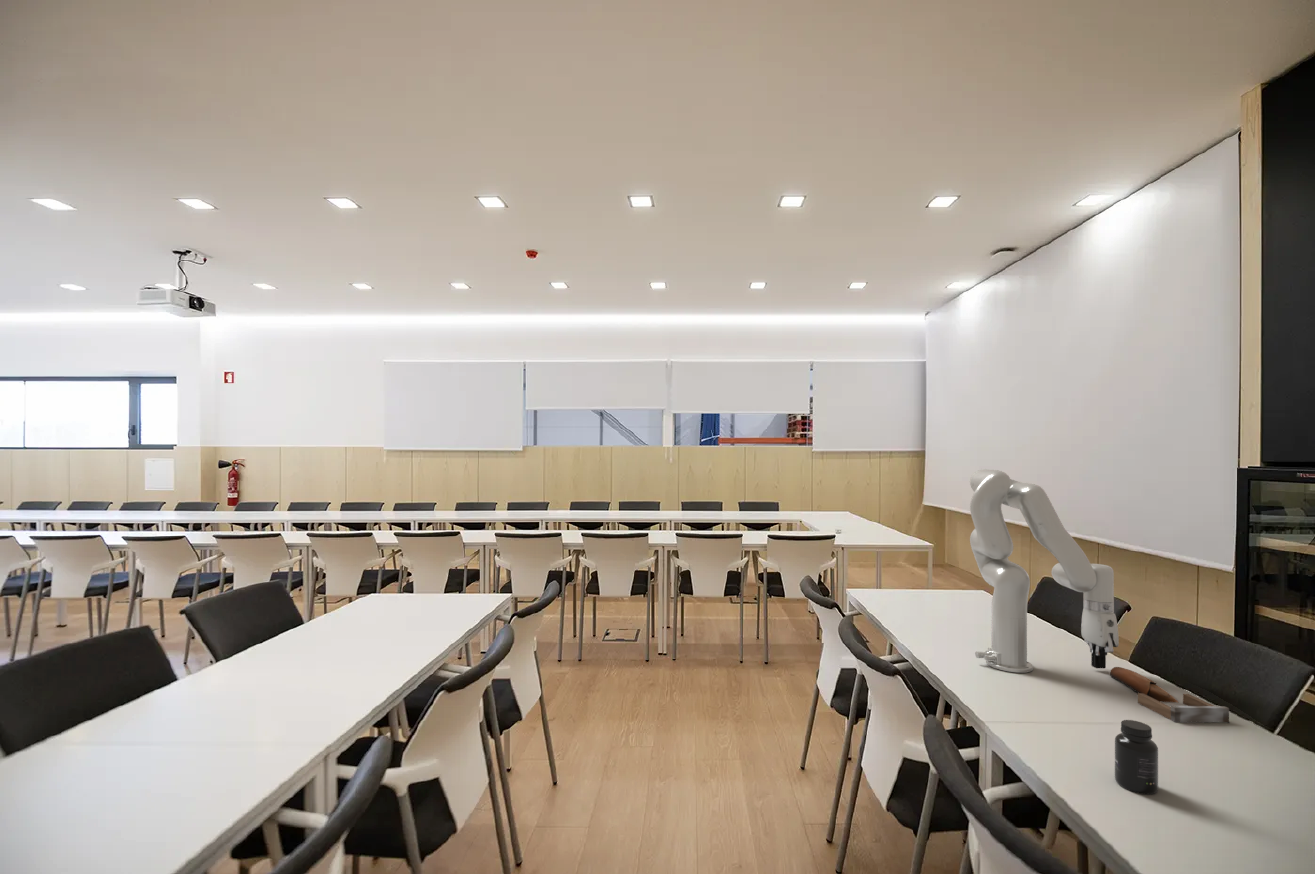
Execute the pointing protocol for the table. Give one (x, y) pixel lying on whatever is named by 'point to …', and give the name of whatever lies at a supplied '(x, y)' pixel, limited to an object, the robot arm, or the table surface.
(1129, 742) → the supplement bottle
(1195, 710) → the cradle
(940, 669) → the table surface
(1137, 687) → the sunglasses case
